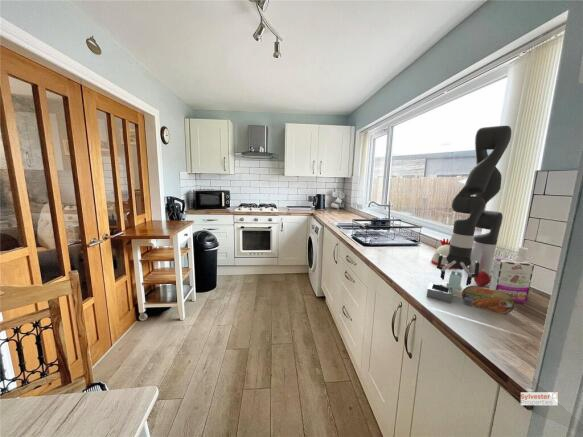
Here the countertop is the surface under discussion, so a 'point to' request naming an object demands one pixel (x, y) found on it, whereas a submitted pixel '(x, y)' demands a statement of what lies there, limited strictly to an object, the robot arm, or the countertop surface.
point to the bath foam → (522, 254)
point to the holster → (455, 291)
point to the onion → (482, 278)
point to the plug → (455, 280)
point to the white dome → (444, 251)
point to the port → (439, 292)
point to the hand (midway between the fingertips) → (454, 281)
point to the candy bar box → (512, 278)
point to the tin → (488, 299)
